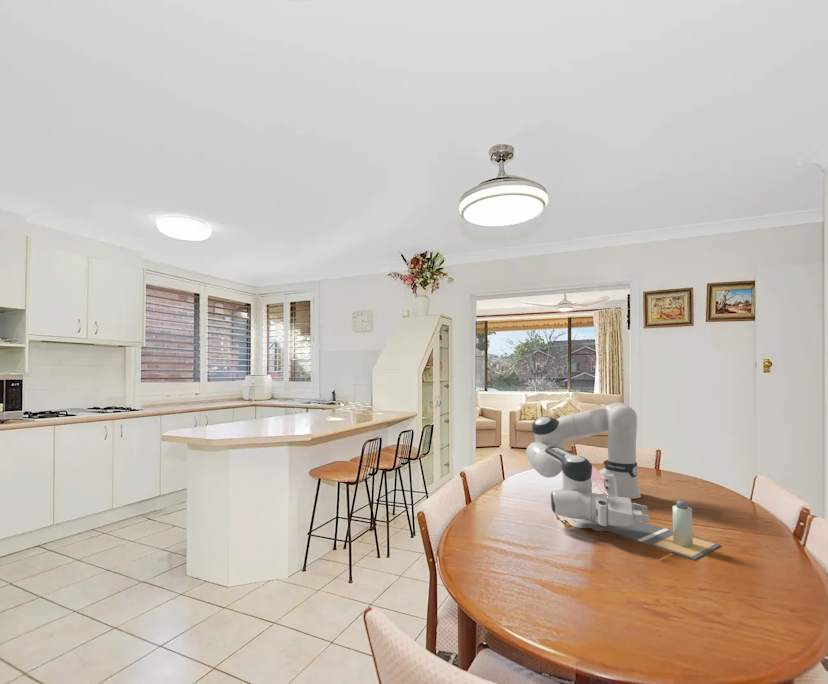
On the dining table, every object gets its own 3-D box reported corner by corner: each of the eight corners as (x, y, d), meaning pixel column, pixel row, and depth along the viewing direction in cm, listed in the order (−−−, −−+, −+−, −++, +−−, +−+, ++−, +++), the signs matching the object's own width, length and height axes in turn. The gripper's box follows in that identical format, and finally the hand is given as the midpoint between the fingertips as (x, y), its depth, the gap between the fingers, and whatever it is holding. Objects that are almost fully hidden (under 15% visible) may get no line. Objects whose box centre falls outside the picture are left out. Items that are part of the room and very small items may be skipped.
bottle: (670, 543, 141) (669, 501, 142) (678, 539, 145) (677, 498, 145) (688, 548, 137) (687, 505, 138) (695, 544, 140) (694, 502, 141)
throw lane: (593, 527, 156) (593, 526, 156) (621, 517, 167) (621, 515, 167) (694, 560, 130) (694, 558, 130) (720, 545, 141) (720, 544, 141)
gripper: (602, 508, 160) (646, 513, 155) (600, 527, 141) (651, 534, 136) (602, 490, 160) (646, 494, 155) (600, 506, 142) (650, 512, 136)
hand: (648, 513), depth 145 cm, fingers open, 8 cm apart
